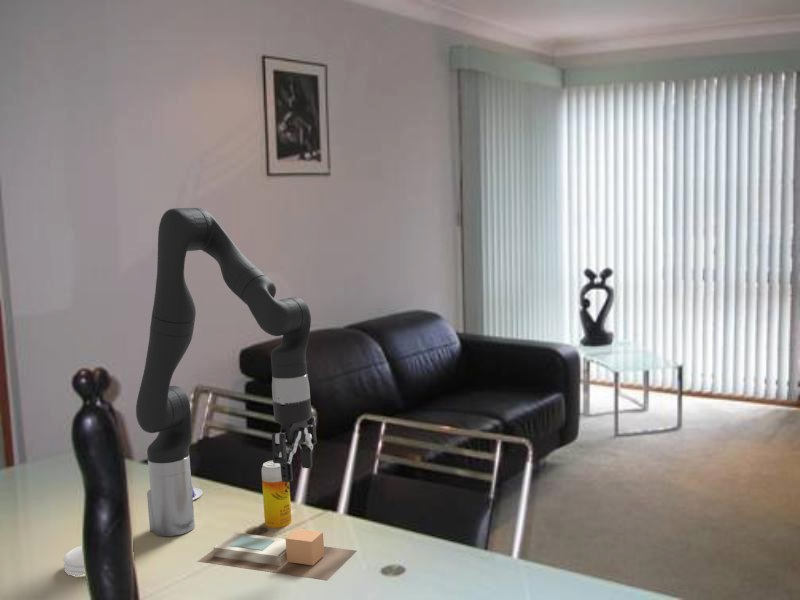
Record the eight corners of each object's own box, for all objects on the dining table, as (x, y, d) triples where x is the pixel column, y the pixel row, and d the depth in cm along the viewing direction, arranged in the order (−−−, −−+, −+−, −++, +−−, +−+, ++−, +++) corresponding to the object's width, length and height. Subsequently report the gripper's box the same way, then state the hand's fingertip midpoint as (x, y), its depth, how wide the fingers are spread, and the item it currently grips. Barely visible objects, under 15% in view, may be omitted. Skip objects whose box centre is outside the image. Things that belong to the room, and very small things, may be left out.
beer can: (286, 532, 190) (282, 468, 188) (261, 531, 191) (257, 467, 189) (295, 521, 196) (291, 459, 194) (270, 520, 197) (266, 459, 195)
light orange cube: (286, 561, 171) (285, 538, 171) (298, 551, 176) (297, 528, 175) (313, 565, 169) (311, 541, 169) (324, 555, 174) (322, 532, 173)
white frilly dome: (85, 582, 169) (84, 566, 169) (54, 572, 174) (53, 556, 174) (125, 563, 178) (124, 547, 177) (94, 554, 183) (93, 538, 182)
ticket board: (198, 565, 174) (196, 551, 174) (234, 538, 187) (233, 525, 187) (327, 585, 163) (326, 569, 163) (357, 555, 176) (356, 541, 176)
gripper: (292, 388, 177) (297, 462, 179) (257, 405, 164) (263, 484, 166) (323, 389, 175) (329, 464, 177) (291, 406, 161) (297, 487, 163)
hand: (297, 474), depth 171 cm, fingers open, 8 cm apart
